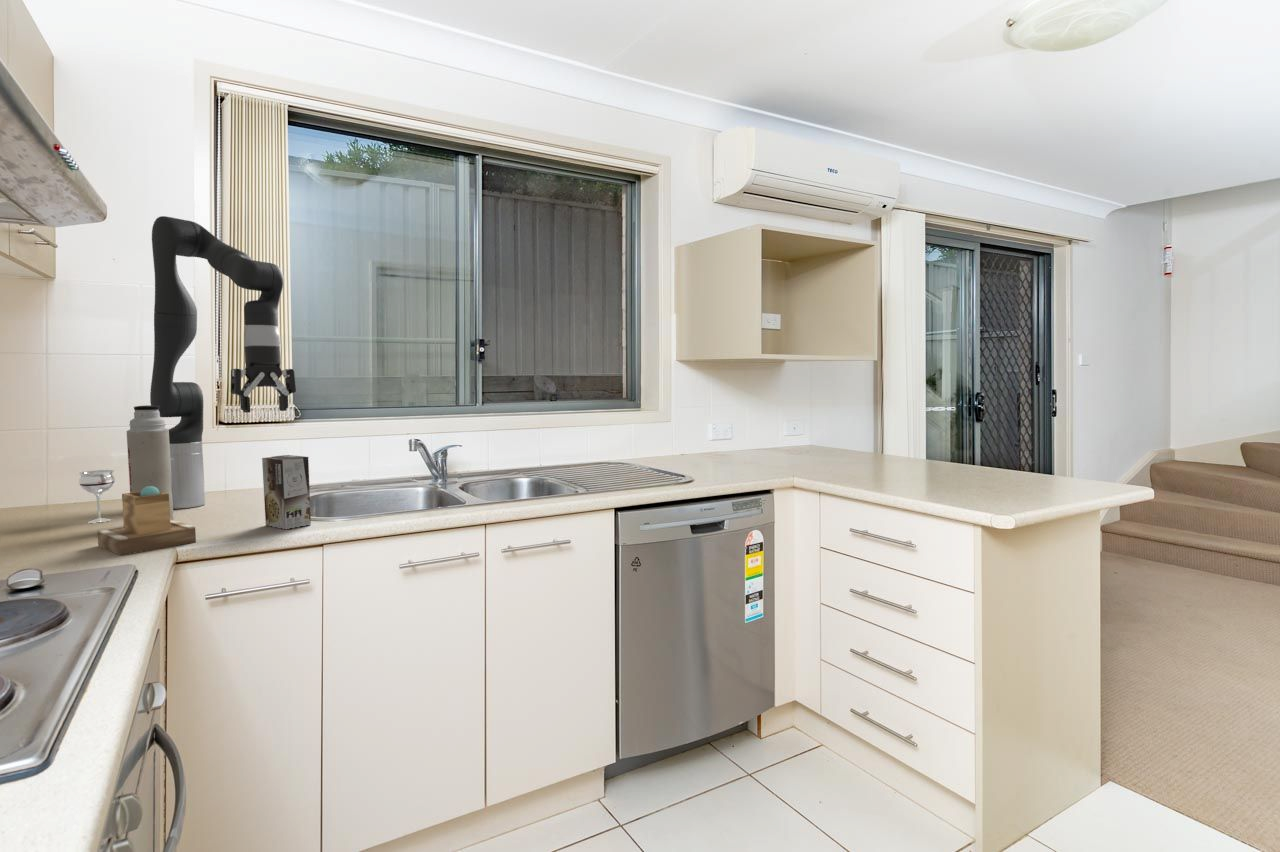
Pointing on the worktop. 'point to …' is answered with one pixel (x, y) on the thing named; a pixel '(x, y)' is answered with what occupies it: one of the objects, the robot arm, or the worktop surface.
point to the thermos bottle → (149, 452)
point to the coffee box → (286, 491)
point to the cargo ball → (149, 491)
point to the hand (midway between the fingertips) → (265, 411)
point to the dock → (145, 538)
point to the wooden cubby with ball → (146, 513)
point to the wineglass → (97, 486)
